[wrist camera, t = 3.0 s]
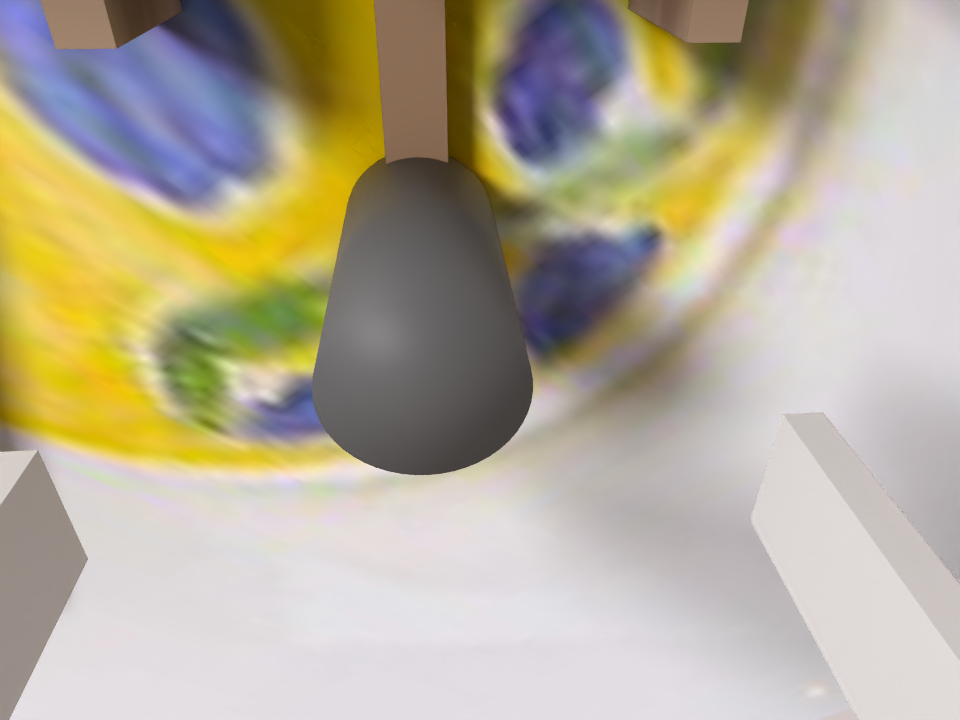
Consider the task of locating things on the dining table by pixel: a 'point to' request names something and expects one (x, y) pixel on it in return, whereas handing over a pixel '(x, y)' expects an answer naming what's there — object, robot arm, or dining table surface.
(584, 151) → the dining table surface
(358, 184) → the block
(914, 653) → the robot arm
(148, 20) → the lane rack
